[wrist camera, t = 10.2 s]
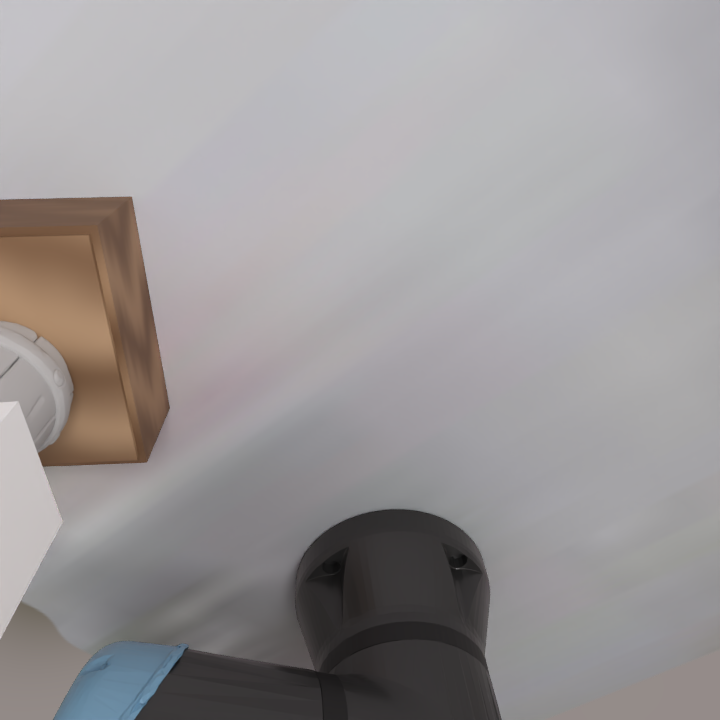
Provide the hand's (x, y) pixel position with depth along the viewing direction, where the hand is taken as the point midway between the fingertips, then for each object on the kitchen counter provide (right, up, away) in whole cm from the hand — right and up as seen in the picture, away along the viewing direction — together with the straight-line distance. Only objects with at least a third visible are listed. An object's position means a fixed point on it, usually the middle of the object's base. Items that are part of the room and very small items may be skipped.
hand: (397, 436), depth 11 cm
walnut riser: (-20, +4, +27) cm, 34 cm away
